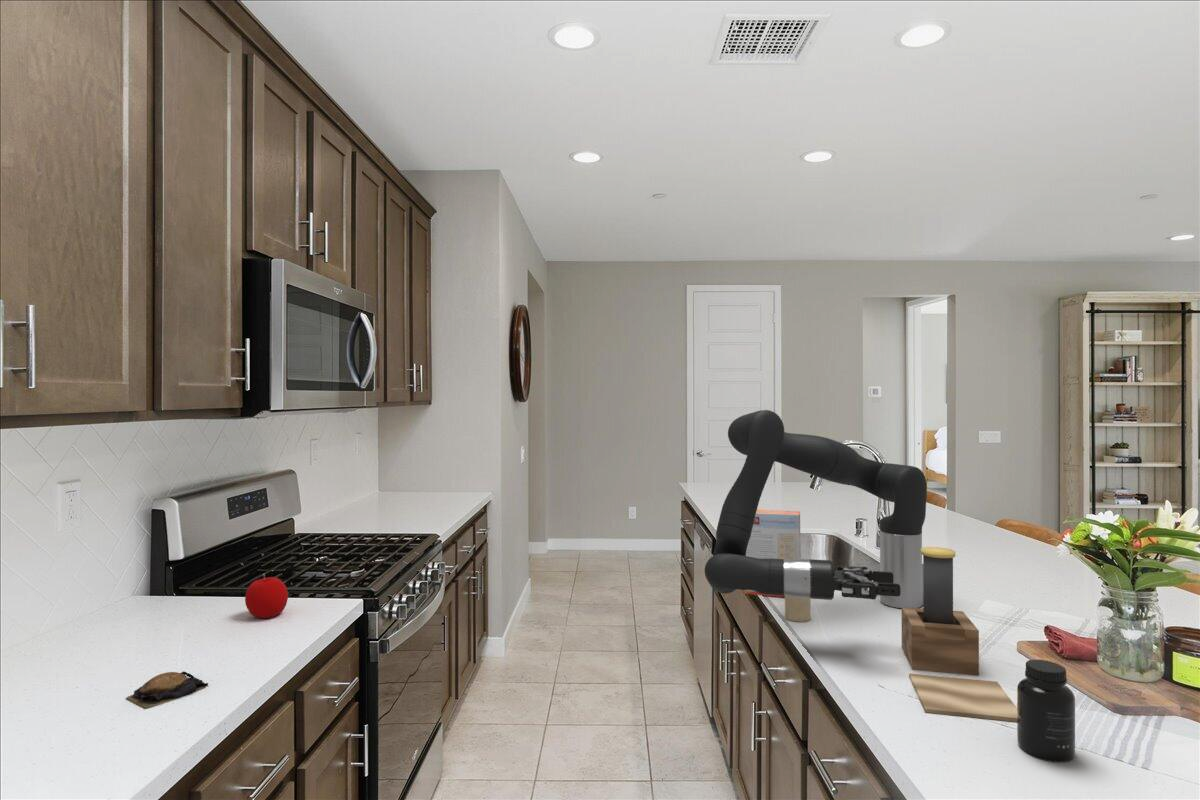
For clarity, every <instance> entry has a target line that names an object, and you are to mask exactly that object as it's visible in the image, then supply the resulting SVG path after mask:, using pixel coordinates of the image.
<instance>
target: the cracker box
mask: <svg viewBox="0 0 1200 800" xmlns="http://www.w3.org/2000/svg"><path fill="white" fill-rule="evenodd" d="M801 544H802V542H801V511H798V510H797V511H796V510H795V511H794V510H777V509H776V510H774V509H757V511H756V515H755V519H754V524H753V528H752V532H751V536H750V540H749V543H748V546H747V550H746V556H748V557H753V558H760V559H766V558H767V559H802V554H801V553H802V552H801V546H802V545H801ZM742 592H743V594H744V595H754V596H763V597H764V596H765V597H767V596H768V597H779V598H785V595H771V594H770V595H769V594H762V593H758V592H756V591H754V590H742Z"/></svg>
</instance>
